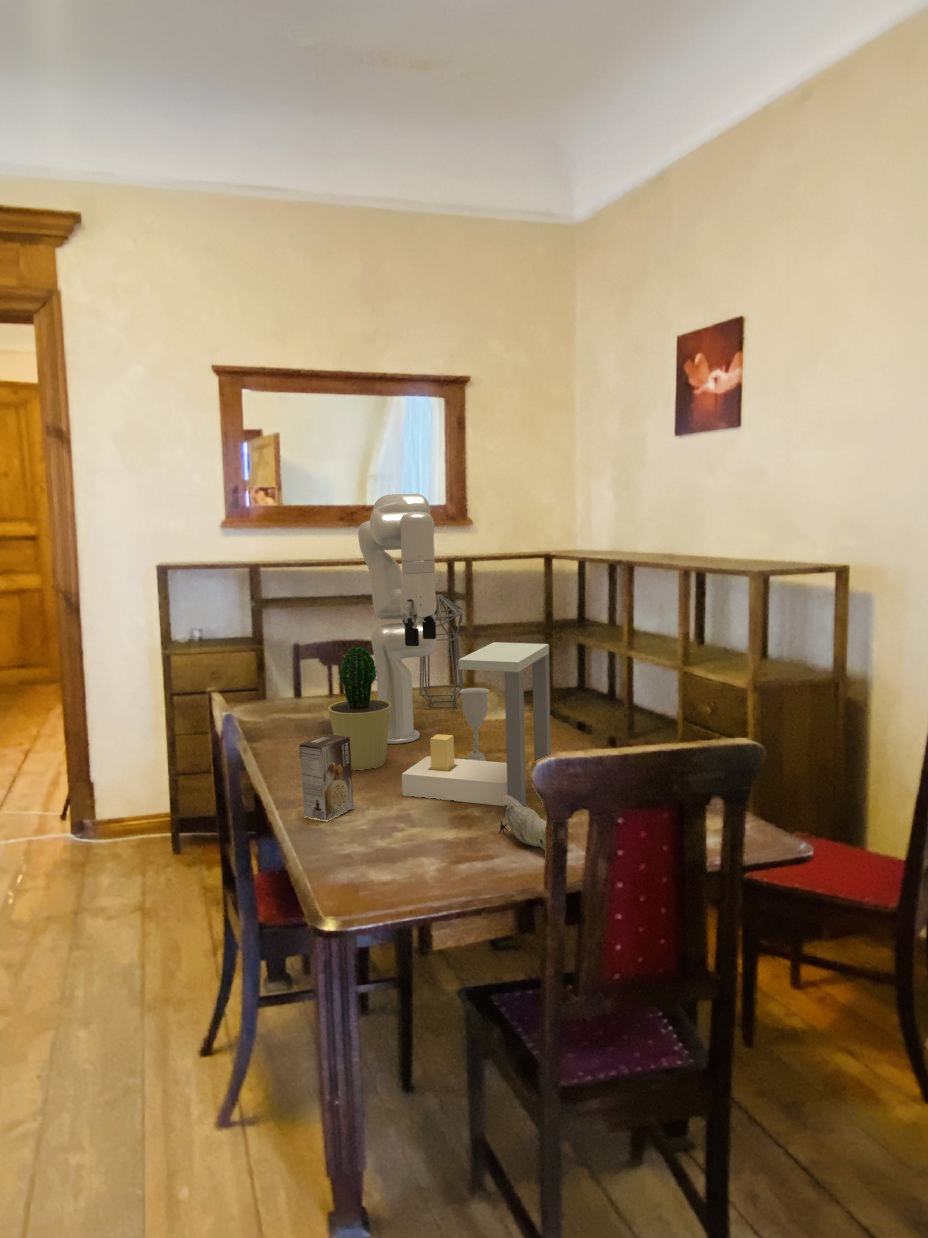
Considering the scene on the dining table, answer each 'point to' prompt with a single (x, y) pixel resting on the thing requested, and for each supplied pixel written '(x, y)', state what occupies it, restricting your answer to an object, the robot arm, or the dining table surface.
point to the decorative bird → (524, 823)
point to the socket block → (458, 781)
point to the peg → (442, 752)
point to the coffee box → (326, 776)
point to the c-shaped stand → (519, 702)
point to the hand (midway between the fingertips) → (421, 642)
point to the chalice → (475, 715)
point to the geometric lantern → (456, 649)
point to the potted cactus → (361, 712)
